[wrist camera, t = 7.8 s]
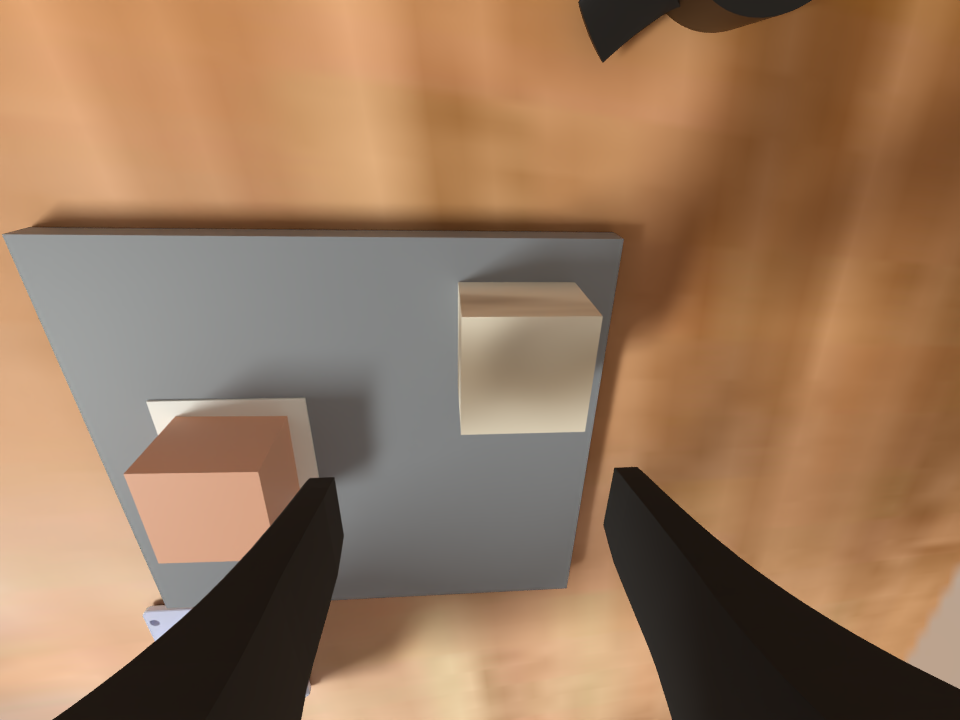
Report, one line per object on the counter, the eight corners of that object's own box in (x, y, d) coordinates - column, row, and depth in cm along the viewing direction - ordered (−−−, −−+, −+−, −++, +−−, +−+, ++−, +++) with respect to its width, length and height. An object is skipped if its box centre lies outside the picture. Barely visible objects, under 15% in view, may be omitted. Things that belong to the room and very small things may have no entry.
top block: (562, 383, 20) (585, 431, 17) (457, 384, 20) (461, 434, 17) (574, 282, 18) (603, 316, 15) (458, 282, 18) (461, 316, 15)
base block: (300, 496, 22) (277, 559, 19) (200, 498, 22) (158, 563, 19) (287, 415, 20) (258, 471, 17) (174, 416, 20) (123, 473, 16)
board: (561, 570, 28) (567, 589, 27) (177, 588, 26) (165, 610, 25) (613, 232, 19) (624, 239, 18) (29, 227, 17) (-1, 235, 16)
